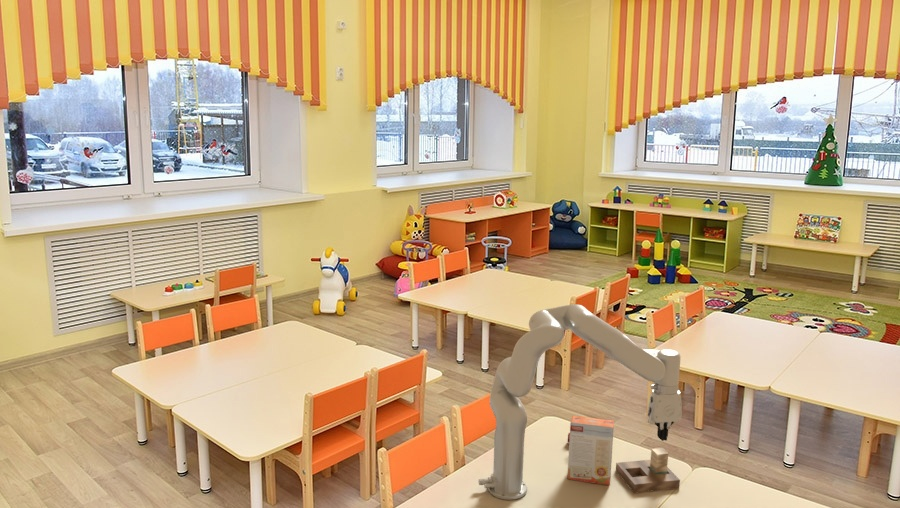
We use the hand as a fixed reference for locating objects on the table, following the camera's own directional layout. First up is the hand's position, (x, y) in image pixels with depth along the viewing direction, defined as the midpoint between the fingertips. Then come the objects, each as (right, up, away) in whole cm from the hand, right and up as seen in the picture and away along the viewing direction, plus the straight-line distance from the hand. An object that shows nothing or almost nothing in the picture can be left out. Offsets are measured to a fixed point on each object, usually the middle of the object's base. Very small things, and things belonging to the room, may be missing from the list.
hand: (662, 438), depth 235 cm
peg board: (-4, -14, +2) cm, 15 cm away
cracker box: (-24, -14, +2) cm, 28 cm away
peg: (-1, -14, +3) cm, 15 cm away
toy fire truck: (-24, -10, +21) cm, 34 cm away
